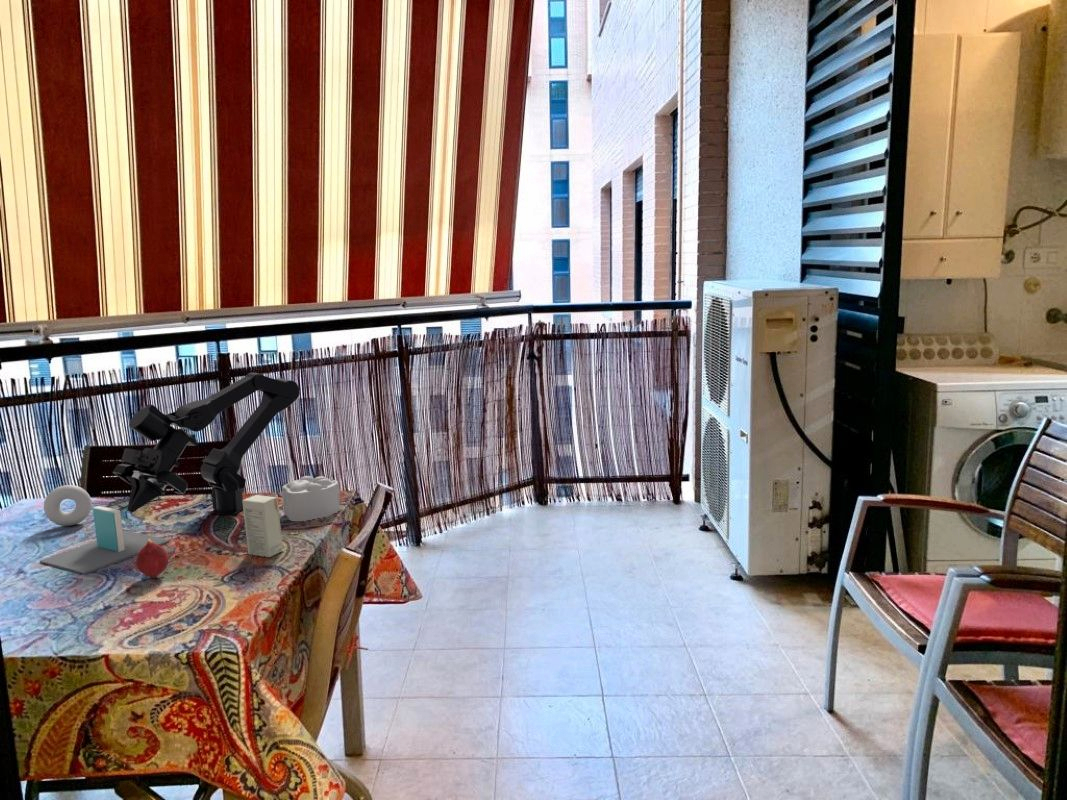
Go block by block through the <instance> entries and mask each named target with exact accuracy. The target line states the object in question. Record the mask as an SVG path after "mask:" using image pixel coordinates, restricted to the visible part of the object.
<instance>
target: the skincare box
mask: <svg viewBox="0 0 1067 800" xmlns="http://www.w3.org/2000/svg"><path fill="white" fill-rule="evenodd" d="M242 502H243V510H242V511H243V519H244V527H245V534H246V543H247V544H246V545H247V554H248V555H252V554H253V555H252V556H258V555H259V557H264V556H265V558H271V557H273V556H275V555H278V554H279V553H280V552H283V551H284V548H283V537H282V529H281V519H280V507H279V501H278V497H276V496H270V495H269V496H268V495H262V494H255V495H252V496H250V497H247V498H245V499H244V498H243V500H242Z"/></svg>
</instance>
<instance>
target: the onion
mask: <svg viewBox="0 0 1067 800" xmlns="http://www.w3.org/2000/svg"><path fill="white" fill-rule="evenodd" d="M169 560H170V559H169V554H168V552H167V550H166V549H165V547H163V545H158V544H155V543H154V542H152V540H150V539H148V541H147V544H146V545H145V546H144V547H143V548H142V549H141V550H140V551H139V553H138V554H137V555H136V557H135V566H136V569H137V570H138V571H139V572H140V573H141V574H142V575H144V576H146V577H149V578H151V579H155V578H157V577H158V576H159V575H161V574H162V573H163V572H164V571H165V569H166V568H167V566H168V565H169Z"/></svg>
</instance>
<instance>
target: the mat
mask: <svg viewBox="0 0 1067 800" xmlns="http://www.w3.org/2000/svg"><path fill="white" fill-rule="evenodd" d="M122 531H123V540H124V548H125V550H123V551H120V552H118V551H114V550H109V549H105V548H101V547H98V546H97V540H94V541H92V542H89V543H86V544H84V545H81V546H78V547H74V548H72V549H69V550H66V551H64V552H61V553H58V554H55V555H52V556H49V557H46V558H43V559H41V560H39V563H40V562H41V563H40V564H44V563H45V564H44V565H47V564H48V565H47V566H51V565H52V567H55V568H58V569H64V570H66V571H70V572H74V573H79V574H82V575H87V574H91V573H93V572H96V571H98V570H101V569H103V568H106V567H108V566H111V565H114V564H116V563H119V562H121V561H123V560H127V559H129V558H132V557H134V556H137V555H138V553H139V551H140V550H141V549H142V548H143V547H144V546H145V545H146V544H147V541H148V539H150V540H152V542H154V543H155V544H158V545H160V546H163V545H165V544H167V543H170V539H165V538H162V537H156V536H152V535H149V534H142V533H139V532H134V531H129V530H122Z"/></svg>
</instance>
